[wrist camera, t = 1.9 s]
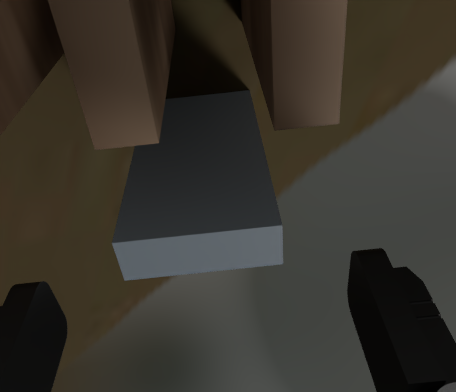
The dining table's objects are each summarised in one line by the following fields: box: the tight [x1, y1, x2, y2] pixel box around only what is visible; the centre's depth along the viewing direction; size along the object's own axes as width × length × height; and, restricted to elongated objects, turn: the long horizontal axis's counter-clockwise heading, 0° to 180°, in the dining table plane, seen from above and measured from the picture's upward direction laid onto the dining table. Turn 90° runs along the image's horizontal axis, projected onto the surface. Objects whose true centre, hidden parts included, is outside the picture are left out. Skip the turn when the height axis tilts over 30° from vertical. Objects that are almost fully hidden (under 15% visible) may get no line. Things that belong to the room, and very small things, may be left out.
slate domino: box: [112, 90, 283, 280], centre depth 17 cm, size 2×5×10 cm, turn 95°
